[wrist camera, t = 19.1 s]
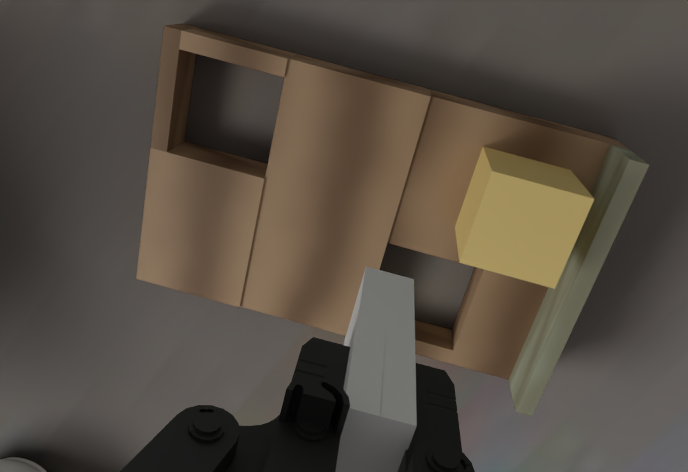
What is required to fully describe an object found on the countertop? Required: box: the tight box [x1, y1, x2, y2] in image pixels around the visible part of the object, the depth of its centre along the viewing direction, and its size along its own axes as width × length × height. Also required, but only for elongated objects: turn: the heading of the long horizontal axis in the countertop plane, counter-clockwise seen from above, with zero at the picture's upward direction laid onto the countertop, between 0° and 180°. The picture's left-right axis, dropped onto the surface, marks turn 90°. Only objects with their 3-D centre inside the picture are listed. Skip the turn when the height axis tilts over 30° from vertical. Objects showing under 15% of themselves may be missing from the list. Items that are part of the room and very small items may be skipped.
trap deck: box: [136, 24, 649, 416], centre depth 35 cm, size 26×16×6 cm, turn 77°
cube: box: [455, 146, 594, 289], centre depth 31 cm, size 5×5×5 cm
